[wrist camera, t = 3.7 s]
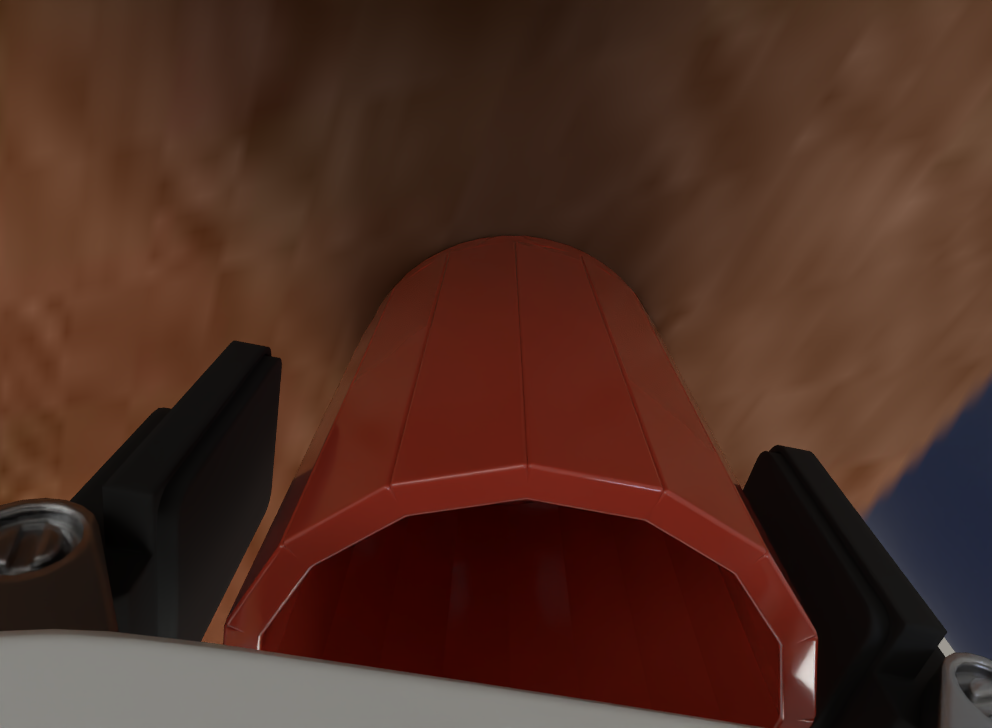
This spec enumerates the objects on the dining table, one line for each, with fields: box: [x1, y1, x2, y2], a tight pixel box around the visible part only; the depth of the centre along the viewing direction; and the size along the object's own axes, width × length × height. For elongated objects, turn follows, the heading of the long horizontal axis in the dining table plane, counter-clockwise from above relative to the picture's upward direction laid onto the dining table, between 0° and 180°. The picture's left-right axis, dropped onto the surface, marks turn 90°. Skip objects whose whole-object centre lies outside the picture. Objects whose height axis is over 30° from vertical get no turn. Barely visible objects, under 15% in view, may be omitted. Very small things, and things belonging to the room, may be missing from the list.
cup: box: [223, 236, 818, 728], centre depth 11 cm, size 6×6×8 cm
